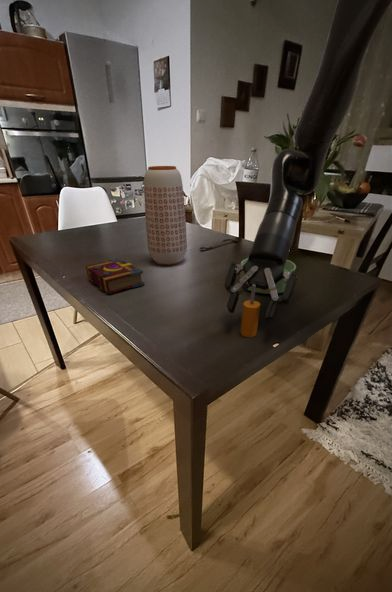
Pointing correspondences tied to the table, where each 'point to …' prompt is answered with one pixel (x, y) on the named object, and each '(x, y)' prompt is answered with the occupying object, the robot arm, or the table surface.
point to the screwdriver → (250, 316)
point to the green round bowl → (279, 285)
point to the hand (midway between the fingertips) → (248, 315)
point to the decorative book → (114, 275)
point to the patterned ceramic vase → (165, 215)
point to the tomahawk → (220, 244)
